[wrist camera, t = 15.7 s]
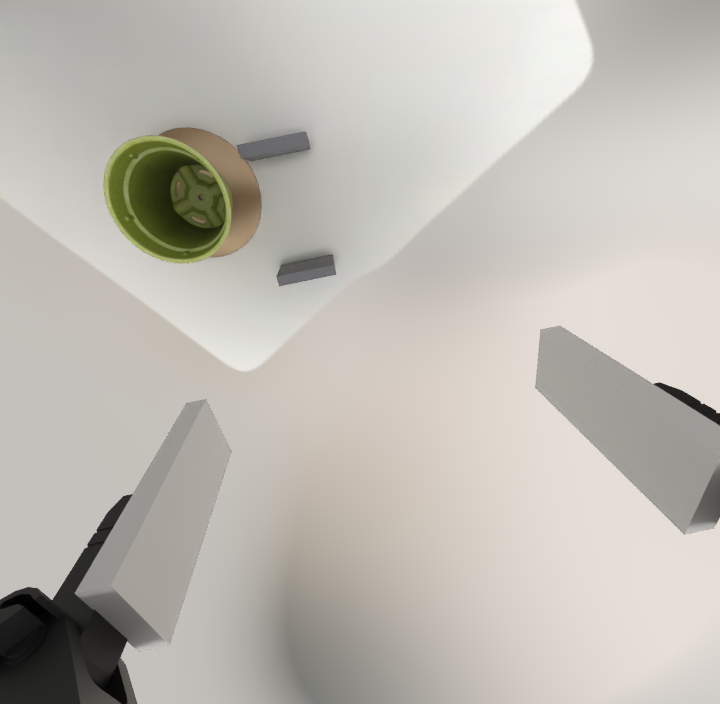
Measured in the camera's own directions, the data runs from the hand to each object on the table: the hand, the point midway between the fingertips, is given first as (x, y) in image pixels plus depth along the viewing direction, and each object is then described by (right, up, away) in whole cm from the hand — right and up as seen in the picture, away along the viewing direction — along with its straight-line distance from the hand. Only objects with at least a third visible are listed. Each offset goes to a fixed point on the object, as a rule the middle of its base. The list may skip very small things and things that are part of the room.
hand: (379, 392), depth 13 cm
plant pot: (-17, +17, +21) cm, 32 cm away
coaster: (-17, +18, +21) cm, 33 cm away
